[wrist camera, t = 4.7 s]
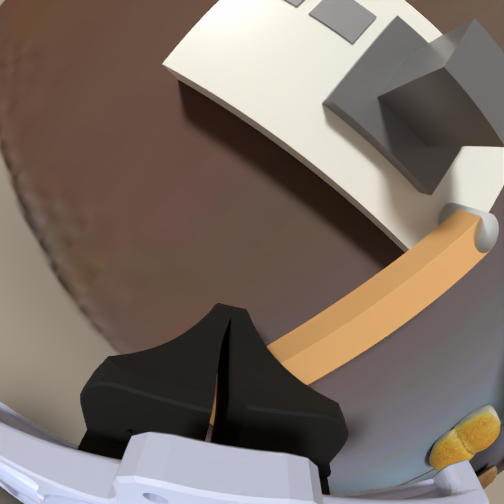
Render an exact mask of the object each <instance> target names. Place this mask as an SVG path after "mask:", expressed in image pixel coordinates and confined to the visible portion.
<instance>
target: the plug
mask: <svg viewBox="0 0 504 504" xmlns="http://www.w3.org/2000/svg"><path fill="white" fill-rule="evenodd" d="M322 104H323V105H325V106H326V107H327V108H328V109H330V110H331V111H332V112H334V113H335V114H336V115H337V116H338V117H340V118H341V119H342V120H343V121H345V122H346V123H347V124H348V125H349V126H350V127H352V128H353V129H354V130H355V131H356V132H357V133H359V134H360V135H361V136H362V137H363V138H364V139H365V140H367V141H368V142H369V143H370V144H371V145H372V146H373V147H374V148H375V149H376V150H377V151H379V152H380V153H381V154H382V155H383V156H384V157H385V158H386V159H387V160H388V161H389V162H390V163H391V164H392V165H393V166H394V167H395V168H396V169H397V170H398V171H399V172H400V173H401V174H402V175H403V176H404V177H405V178H406V179H407V180H408V181H409V182H410V183H411V184H412V185H413V186H414V187H415V189H416V190H417V191H418V192H419V193H423V194H427V195H432V194H433V192H434V191H435V189H436V188H437V186H438V185H439V183H440V182H441V180H442V179H443V177H444V176H445V174H446V172H447V171H448V169H449V168H450V166H451V164H452V163H453V161H454V160H455V158H456V156H457V155H458V153H459V151H460V150H461V148H462V146H481V147H504V52H503V51H502V50H501V49H500V47H499V46H498V45H497V43H496V42H495V41H494V40H493V39H492V37H491V36H490V35H489V34H488V32H487V31H486V30H485V29H484V28H483V27H482V26H481V24H480V23H479V22H478V21H477V20H476V19H475V18H473V19H471V20H469V21H467V22H465V23H463V24H461V25H460V26H458V27H456V28H454V29H452V30H450V31H449V32H447V33H445V34H443V35H442V36H440V37H438V38H436V39H435V40H433V41H431V42H430V43H428V42H427V41H426V40H425V39H424V38H423V37H422V36H421V35H420V34H418V33H417V32H416V31H415V30H414V29H413V28H412V27H411V26H409V25H408V24H407V23H406V22H405V21H404V20H402V19H401V18H400V17H399V16H398V15H397V16H396V17H395V18H394V19H393V20H392V21H391V22H390V23H389V24H388V25H387V26H386V27H385V28H384V29H383V30H382V32H381V33H380V34H379V35H378V36H377V37H376V39H375V40H374V41H373V42H372V43H371V44H370V46H369V47H368V48H367V49H366V50H365V51H364V53H363V54H362V55H361V56H360V57H359V59H358V60H357V61H356V62H355V63H354V65H353V66H352V67H351V68H350V69H349V71H348V72H347V73H346V74H345V75H344V77H343V78H342V79H341V80H340V81H339V83H338V84H337V85H336V86H335V88H334V89H333V90H332V91H331V93H330V94H329V95H328V96H327V97H326V99H325V100H324V101H323V102H322Z"/></svg>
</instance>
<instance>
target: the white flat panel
mask: <svg viewBox="0 0 504 504" xmlns="http://www.w3.org/2000/svg"><path fill="white" fill-rule="evenodd" d="M397 15H398V16H399V17H400V18H401V19H402V20H404V21H405V22H406V23H407V24H408V25H409V26H411V27H412V28H413V29H414V30H415V31H416V32H417V33H418V34H420V35H421V36H422V37H423V38H424V39H425V40H426V41H427V42H428V43H430V42H431V41H433V40H435V39H436V38H438V37H440V36H442V35H443V34H442V33H441V32H440V31H438V30H437V29H436V28H435V27H434V26H433V25H432V24H431V23H430V22H429V21H428V20H427V19H426V18H425V17H423V16H422V15H421V14H420V13H419V12H418V11H417V10H415V9H414V8H413V7H412V6H411V5H410V4H408V3H407V2H406V1H405V0H219V1H218V2H217V3H216V4H215V5H214V6H213V7H212V8H211V9H210V10H209V11H208V12H207V13H206V14H205V15H204V17H203V18H202V19H201V20H200V21H199V22H198V23H197V24H196V25H195V26H194V27H193V28H192V29H191V31H190V32H189V33H188V34H187V35H186V36H185V37H184V38H183V40H182V41H181V42H180V43H179V44H178V45H177V47H176V48H175V49H174V50H173V51H172V53H171V54H170V55H169V56H168V58H167V59H166V60H165V61H164V63H163V65H164V66H165V67H166V68H167V69H168V70H169V71H170V72H171V73H172V74H173V75H174V76H175V77H176V78H177V79H178V80H180V81H182V82H183V83H185V84H187V85H188V86H190V87H192V88H193V89H195V90H197V91H198V92H200V93H202V94H203V95H205V96H206V97H208V98H210V99H211V100H213V101H214V102H216V103H218V104H219V105H221V106H222V107H224V108H225V109H227V110H228V111H230V112H231V113H233V114H234V115H236V116H237V117H239V118H240V119H242V120H243V121H245V122H246V123H248V124H249V125H251V126H252V127H254V128H255V129H256V130H258V131H259V132H261V133H262V134H263V135H265V136H266V137H268V138H269V139H270V140H272V141H273V142H275V143H276V144H277V145H279V146H280V147H281V148H283V149H284V150H285V151H287V152H288V153H289V154H291V155H292V156H293V157H295V158H296V159H297V160H299V161H300V162H301V163H303V164H304V165H305V166H306V167H308V168H309V169H310V170H312V171H313V172H314V173H315V174H317V175H318V176H319V177H320V178H322V179H323V180H324V181H325V182H326V183H328V184H329V185H330V186H331V187H333V188H334V189H335V190H336V191H337V192H339V193H340V194H341V195H342V196H343V197H344V198H346V199H347V200H348V201H349V202H350V203H351V204H353V205H354V206H355V207H356V208H357V209H358V210H359V211H361V212H362V213H363V214H364V215H365V216H366V217H367V218H368V219H370V220H371V221H372V222H373V223H374V224H375V225H376V226H377V227H378V228H379V229H381V230H382V231H383V232H384V233H385V234H386V235H387V236H388V237H389V238H390V239H391V240H392V241H393V242H394V243H395V244H396V245H397V246H399V247H400V248H401V249H402V250H403V251H404V252H405V253H406V252H407V251H408V250H410V249H411V248H412V247H413V246H415V245H416V244H417V243H418V242H420V241H421V240H422V239H423V238H425V237H426V236H427V235H428V234H430V233H431V232H432V231H433V230H434V229H436V228H437V227H438V226H439V218H440V214H441V211H442V209H443V208H444V207H445V206H446V205H447V204H449V203H457V204H461V205H464V206H468V207H471V208H474V209H478V210H481V211H484V212H487V213H488V212H489V211H490V209H491V207H492V205H493V204H494V202H495V200H496V198H497V196H498V195H499V193H500V191H501V189H502V187H503V185H504V147H481V146H462V148H461V150H460V151H459V153H458V155H457V156H456V158H455V160H454V161H453V163H452V164H451V166H450V168H449V169H448V171H447V172H446V174H445V176H444V177H443V179H442V180H441V182H440V183H439V185H438V186H437V188H436V189H435V191H434V192H433V194H432V195H427V194H423V193H419V192H418V191H417V190H416V189H415V187H414V186H413V185H412V184H411V183H410V182H409V181H408V180H407V179H406V178H405V177H404V176H403V175H402V174H401V173H400V172H399V171H398V170H397V169H396V168H395V167H394V166H393V165H392V164H391V163H390V162H389V161H388V160H387V159H386V158H385V157H384V156H383V155H382V154H381V153H380V152H379V151H377V150H376V149H375V148H374V147H373V146H372V145H371V144H370V143H369V142H368V141H367V140H365V139H364V138H363V137H362V136H361V135H360V134H359V133H357V132H356V131H355V130H354V129H353V128H352V127H350V126H349V125H348V124H347V123H346V122H345V121H343V120H342V119H341V118H340V117H338V116H337V115H336V114H335V113H334V112H332V111H331V110H330V109H328V108H327V107H326V106H325V105H323V104H322V102H323V101H324V100H325V99H326V97H327V96H328V95H329V94H330V93H331V91H332V90H333V89H334V88H335V86H336V85H337V84H338V83H339V81H340V80H341V79H342V78H343V77H344V75H345V74H346V73H347V72H348V71H349V69H350V68H351V67H352V66H353V65H354V63H355V62H356V61H357V60H358V59H359V57H360V56H361V55H362V54H363V53H364V51H365V50H366V49H367V48H368V47H369V46H370V44H371V43H372V42H373V41H374V40H375V39H376V37H377V36H378V35H379V34H380V33H381V32H382V30H383V29H384V28H385V27H386V26H387V25H388V24H389V23H390V22H391V21H392V20H393V19H394V18H395V17H396V16H397Z"/></svg>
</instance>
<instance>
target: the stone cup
mask: <svg viewBox="0 0 504 504" xmlns="http://www.w3.org/2000/svg"><path fill="white" fill-rule="evenodd" d="M496 475H497V468H496V466H495V465H493V466H490V467H488V468H486V469H485V470H483V471H482V472H480V473H479V474H477V475H476V476H477V478H478V480H479V482H480V484H481V486H482V488H483V489H484V488H485V487H487V486H488V485H489V484H490V483H492V482H493V480H494V479H495V477H496Z"/></svg>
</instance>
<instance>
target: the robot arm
mask: <svg viewBox="0 0 504 504" xmlns="http://www.w3.org/2000/svg"><path fill="white" fill-rule="evenodd" d="M217 373H218V375H217ZM216 379H217V392H216V409H215V418H214V424H213V430H212V436H211V441H210V442H206V441H205V439H206V435H207V431H208V427H209V423H210V419H211V415H212V410H213V404H214V398H215V389H216ZM80 402H81V407H82V411H83V415H84V419H85V423H86V427H87V431H86V433H85V435H84V437H83V439H82V441H81V443H80V445H79V446H78V445H76V444H73V443H71V442H69V441H67V440H65V439H63V438H61V437H59V436H57V435H55V434H53V433H51V432H49V431H47V430H46V429H44V428H42V427H40V426H38V425H37V424H35V423H33V422H31V421H30V420H28V419H26V418H25V417H23V416H22V415H20V414H18V413H17V412H15V411H14V410H12V409H11V408H9V407H8V406H6V405H4V404H3V403H2V402H0V486H1V487H2V488H4V489H5V490H6V491H8V492H9V493H10V494H12V495H13V496H14V497H16V498H17V499H19V500H20V501H22V502H23V503H24V504H489V500H488V498H487V496H486V494H485V492H484V490H483V488H482V486H481V484H480V482H479V480H478V478H477V476H476V474H475V472H474V470H473V468H472V466H471V464H470V463H469V461H468V460H464V461H460V462H457V463H454V464H450V465H448V466H446V467H444V468H443V469H442V470H440V471H439V472H438V473H437V474H436V475H435V476H434V478H432V479H428V480H424V481H420V482H415V483H411V484H406V485H401V486H395V487H389V488H383V489H376V490H369V491H360V492H350V493H336V494H330V491H329V485H328V480H327V477H329V476H330V474H331V470H330V465H329V463H330V462H331V461H332V459H333V458H334V457H335V456H336V455H337V453H338V452H339V451H340V450H341V448H342V447H343V446H344V444H345V442H346V440H347V437H348V430H347V426H346V423H345V419H344V416H343V413H342V411H341V409H340V406H339V404H338V403H337V402H335V401H333V400H331V399H329V398H327V397H325V396H323V395H322V394H320V393H318V392H316V391H315V390H313V389H312V388H310V387H309V386H307V385H306V384H304V383H303V382H301V381H300V380H299V379H298V378H296V377H295V376H294V375H293V374H292V373H290V372H289V371H288V370H287V369H286V368H285V367H284V366H283V365H282V364H281V363H280V362H279V361H278V360H277V359H276V358H275V357H274V355H273V354H272V353H271V352H270V351H269V349H268V348H267V346H266V345H265V344H264V342H263V340H262V339H261V337H260V335H259V334H258V332H257V330H256V328H255V327H254V325H253V323H252V320H251V318H250V316H249V314H248V312H247V310H246V309H242V308H238V307H233V306H229V305H224V304H220V303H218V304H216V305H215V306H214V307H213V308H212V310H211V311H210V312H209V313H208V314H207V315H206V316H205V317H204V318H203V319H202V320H200V321H199V322H198V323H197V324H196V325H194V326H193V327H192V328H190V329H189V330H188V331H186V332H185V333H183V334H182V335H180V336H179V337H177V338H175V339H173V340H171V341H169V342H167V343H165V344H162V345H160V346H157V347H154V348H151V349H148V350H144V351H140V352H136V353H131V354H124V355H116V356H108V357H107V359H105V361H104V362H103V363H102V364H101V365H100V366H99V367H98V368H97V369H96V370H95V371H94V373H93V374H92V376H91V377H90V379H89V380H88V382H87V383H86V385H85V386H84V388H83V390H82V392H81V394H80Z"/></svg>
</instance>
